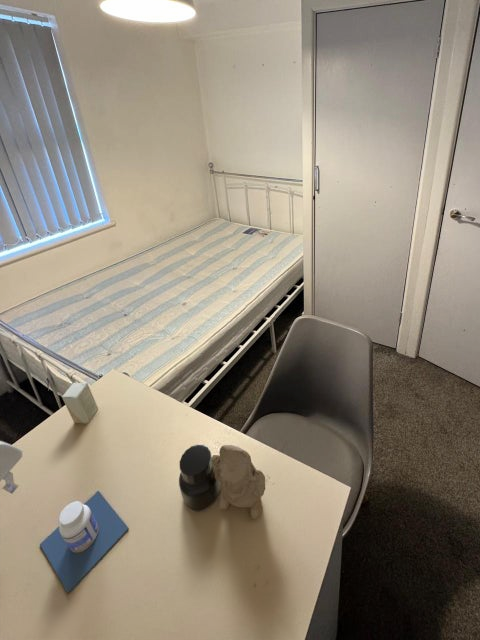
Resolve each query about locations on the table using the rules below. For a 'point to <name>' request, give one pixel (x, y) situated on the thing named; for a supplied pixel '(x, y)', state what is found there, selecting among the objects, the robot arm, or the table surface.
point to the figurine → (238, 480)
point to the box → (80, 402)
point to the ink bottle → (198, 478)
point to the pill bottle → (78, 526)
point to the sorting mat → (78, 564)
